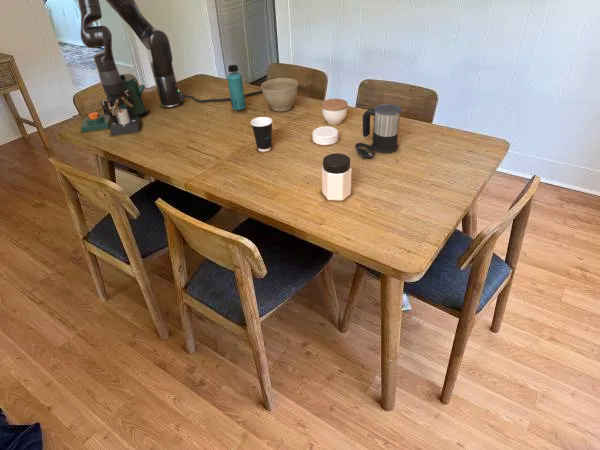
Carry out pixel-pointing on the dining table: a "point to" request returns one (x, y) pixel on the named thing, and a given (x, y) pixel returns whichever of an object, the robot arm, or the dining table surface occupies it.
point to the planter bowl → (280, 93)
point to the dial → (122, 116)
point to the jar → (336, 176)
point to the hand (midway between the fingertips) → (123, 119)
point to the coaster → (325, 135)
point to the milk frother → (381, 129)
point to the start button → (93, 115)
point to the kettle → (132, 85)
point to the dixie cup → (262, 132)
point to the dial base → (126, 126)
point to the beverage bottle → (236, 88)
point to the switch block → (96, 123)
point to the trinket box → (334, 110)
